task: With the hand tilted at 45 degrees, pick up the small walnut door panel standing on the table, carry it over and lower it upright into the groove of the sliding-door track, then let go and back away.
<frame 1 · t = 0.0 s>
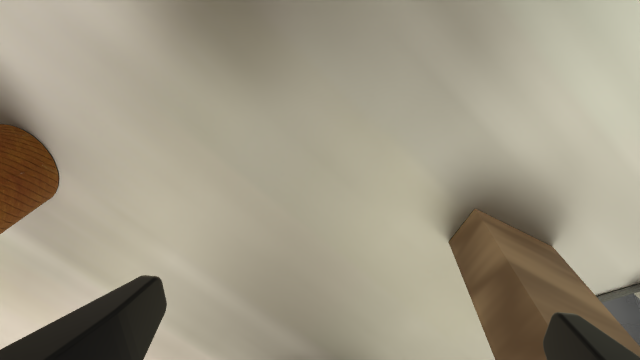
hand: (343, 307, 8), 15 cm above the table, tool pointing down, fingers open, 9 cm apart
door track: (613, 354, 26), on the table
door panel: (499, 244, 23), on the table
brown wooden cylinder: (21, 164, 26), on the table
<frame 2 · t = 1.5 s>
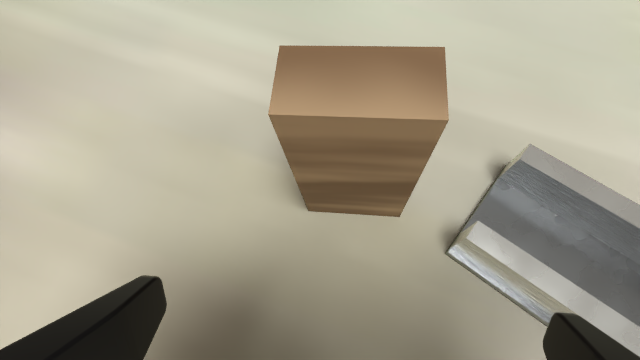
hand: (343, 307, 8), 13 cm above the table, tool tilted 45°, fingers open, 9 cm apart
door track: (568, 267, 20), on the table
door panel: (354, 192, 23), on the table
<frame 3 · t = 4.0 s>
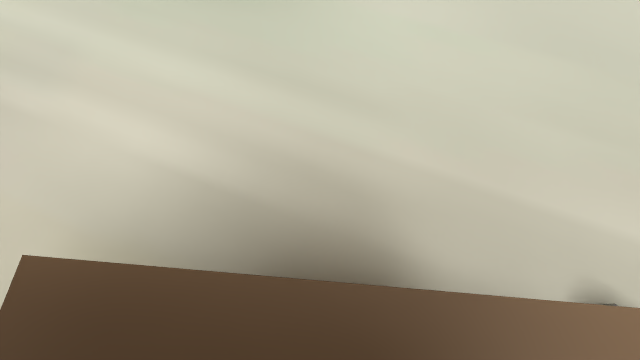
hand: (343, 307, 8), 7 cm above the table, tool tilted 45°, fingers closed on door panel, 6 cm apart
door panel: (344, 348, 13), on the table, touching gripper
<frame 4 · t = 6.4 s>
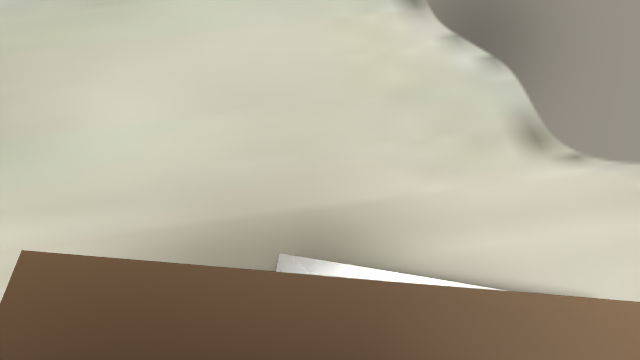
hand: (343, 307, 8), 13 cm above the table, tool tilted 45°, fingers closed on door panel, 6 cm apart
door track: (379, 339, 20), on the table
door panel: (344, 346, 14), point 7 cm above the table, touching gripper
when the fingers open (8 cm above the table, at t = 8.7 s): door panel drops 1 cm, resting on door track.
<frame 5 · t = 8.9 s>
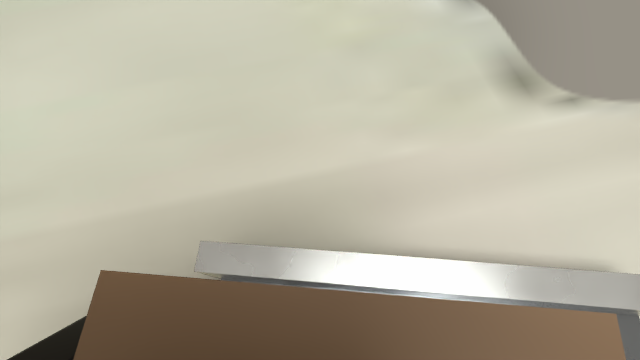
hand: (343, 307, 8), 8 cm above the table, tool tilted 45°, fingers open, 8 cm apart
door track: (345, 343, 15), on the table
door panel: (345, 344, 15), point 1 cm above the table, touching door track
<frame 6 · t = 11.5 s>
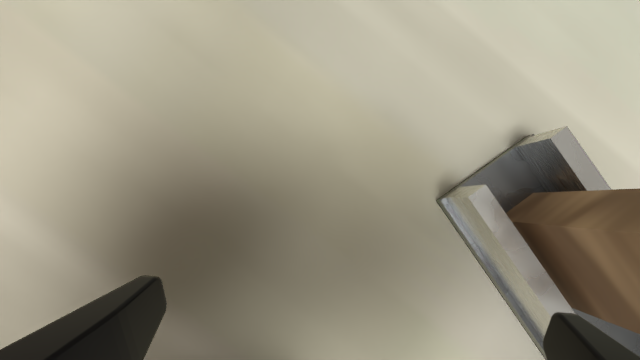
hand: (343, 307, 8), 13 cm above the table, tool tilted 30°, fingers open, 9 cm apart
door track: (536, 244, 22), on the table
door panel: (542, 246, 21), point 1 cm above the table, touching door track
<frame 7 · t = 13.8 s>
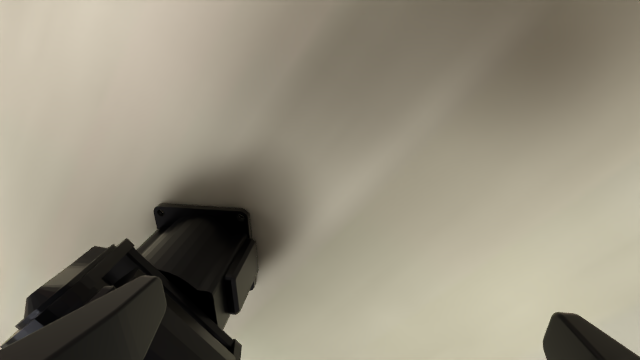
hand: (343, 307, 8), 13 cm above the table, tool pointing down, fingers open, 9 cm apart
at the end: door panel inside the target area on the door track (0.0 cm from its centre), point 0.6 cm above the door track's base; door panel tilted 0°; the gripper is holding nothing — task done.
